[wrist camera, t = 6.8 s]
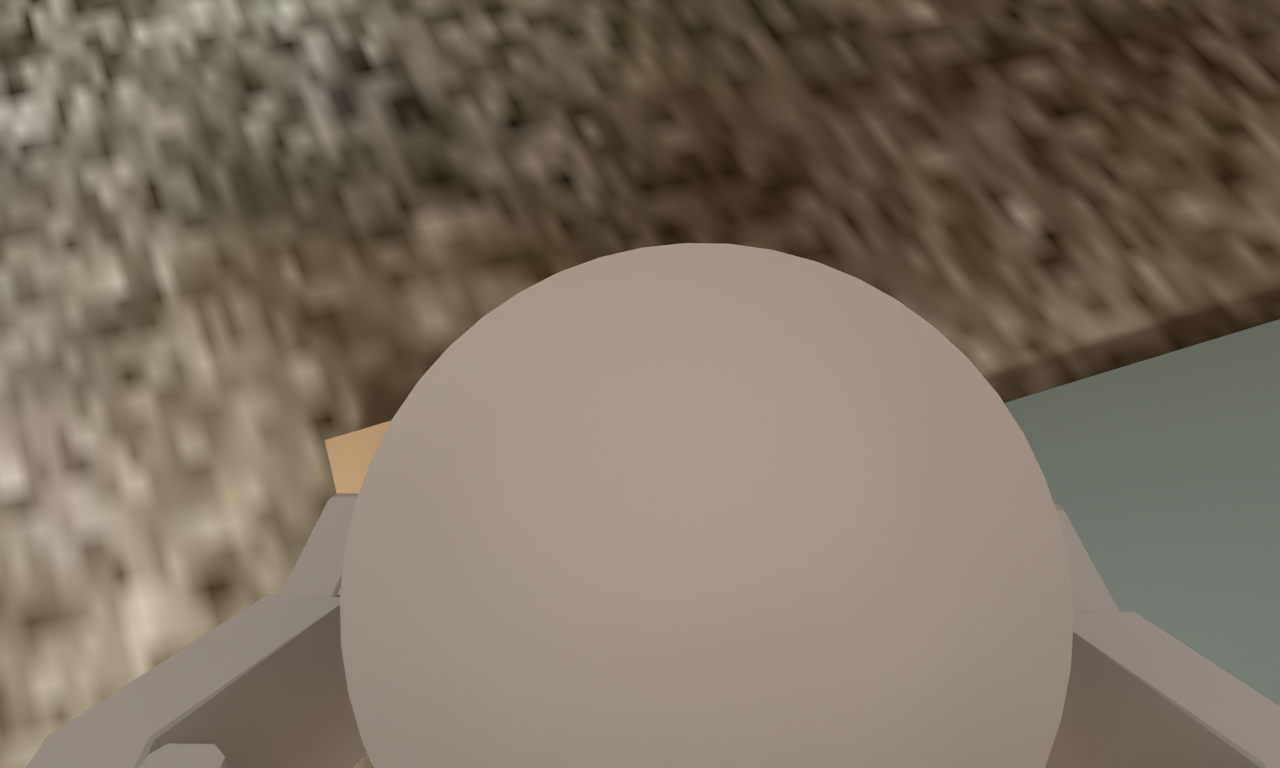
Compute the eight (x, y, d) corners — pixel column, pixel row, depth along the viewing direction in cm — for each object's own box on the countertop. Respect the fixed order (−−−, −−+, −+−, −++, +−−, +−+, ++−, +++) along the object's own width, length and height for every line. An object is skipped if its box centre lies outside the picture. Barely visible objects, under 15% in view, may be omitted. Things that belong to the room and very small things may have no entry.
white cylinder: (770, 452, 17) (923, 146, 7) (861, 718, 16) (1223, 863, 6) (515, 530, 17) (255, 344, 7) (589, 806, 16) (423, 1128, 5)
